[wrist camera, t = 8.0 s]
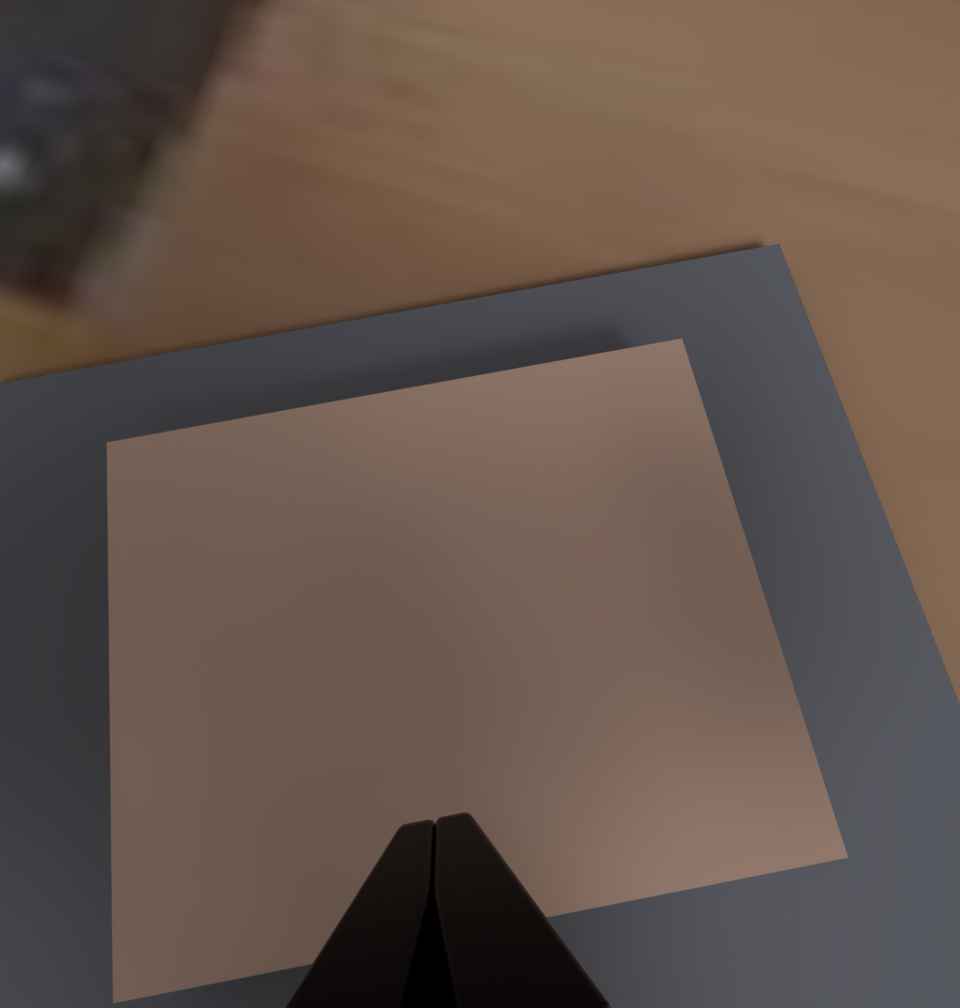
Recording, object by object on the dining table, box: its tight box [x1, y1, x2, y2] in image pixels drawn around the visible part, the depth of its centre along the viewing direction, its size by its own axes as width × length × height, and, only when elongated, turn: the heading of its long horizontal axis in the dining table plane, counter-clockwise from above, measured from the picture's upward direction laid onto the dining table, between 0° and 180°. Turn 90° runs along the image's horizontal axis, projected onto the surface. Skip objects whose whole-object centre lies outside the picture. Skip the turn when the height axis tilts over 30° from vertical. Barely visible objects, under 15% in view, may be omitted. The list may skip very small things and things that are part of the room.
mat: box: [0, 244, 960, 1008], centre depth 16 cm, size 22×20×1 cm
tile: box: [107, 339, 848, 1003], centre depth 16 cm, size 2×12×10 cm
